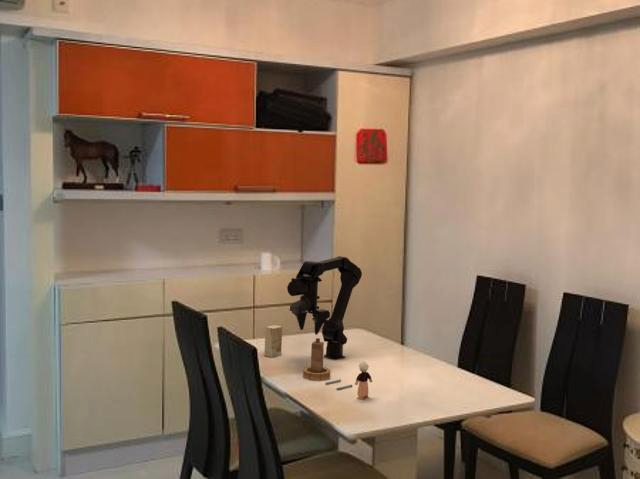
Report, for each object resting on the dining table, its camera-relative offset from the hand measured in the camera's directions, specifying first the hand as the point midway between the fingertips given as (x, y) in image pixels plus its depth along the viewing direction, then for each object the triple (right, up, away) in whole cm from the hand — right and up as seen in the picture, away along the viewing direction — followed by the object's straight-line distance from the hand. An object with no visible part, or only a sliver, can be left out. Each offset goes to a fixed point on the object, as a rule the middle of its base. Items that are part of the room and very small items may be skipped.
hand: (308, 332), depth 277 cm
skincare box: (-15, -12, +12) cm, 23 cm away
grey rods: (+11, -16, -25) cm, 31 cm away
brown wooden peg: (+3, -15, -15) cm, 21 cm away
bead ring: (+3, -15, -15) cm, 21 cm away
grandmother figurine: (+19, -18, -38) cm, 46 cm away
